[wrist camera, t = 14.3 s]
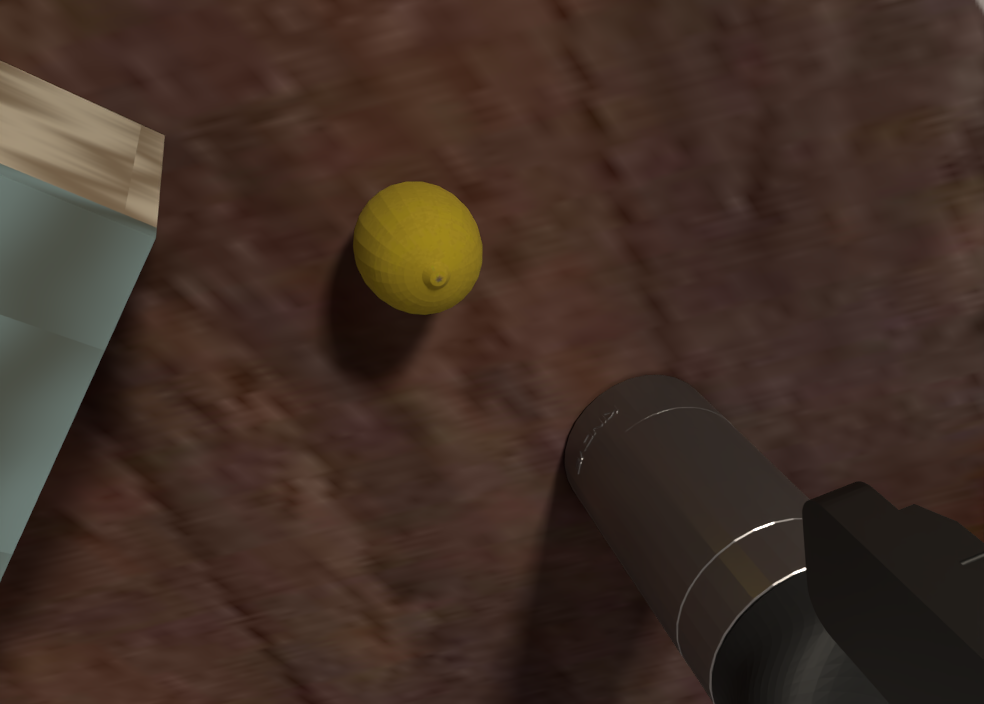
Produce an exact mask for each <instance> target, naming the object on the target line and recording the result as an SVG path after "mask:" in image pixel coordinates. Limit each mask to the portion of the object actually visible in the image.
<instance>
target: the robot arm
mask: <svg viewBox="0 0 984 704" xmlns="http://www.w3.org/2000/svg"><path fill="white" fill-rule="evenodd" d="M565 470H566V475H567V479H568V481H569V483H570V485H571V487H572V489H573V491H574V493H575V494H576V496H577V497H578V499H579V500H580V502H581V503H582V505H583V506H584V508H585V509H586V511H587V512H588V514H589V515H590V517H591V518H592V520H593V521H594V523H595V525H596V526H597V528H598V530H599V531H600V533H601V534H602V536H603V537H604V539H605V540H606V542H607V543H608V545H609V546H610V548H611V549H612V551H613V552H614V554H615V555H616V557H617V558H618V560H619V561H620V563H621V564H622V566H623V567H624V569H625V570H626V572H627V574H628V575H629V577H630V578H631V580H632V581H633V583H634V584H635V586H636V587H637V589H638V590H639V592H640V593H641V595H642V596H643V598H644V599H645V601H646V602H647V604H648V605H649V607H650V608H651V610H652V611H653V613H654V614H655V616H656V617H657V619H658V620H659V622H660V623H661V625H662V626H663V628H664V629H665V631H666V632H667V634H668V636H669V637H670V639H671V640H672V642H673V643H674V645H675V646H676V648H677V649H678V651H679V652H680V654H681V655H682V657H683V658H684V660H685V661H686V663H687V664H688V666H689V667H690V668H691V670H692V671H693V673H694V674H695V676H696V677H697V679H698V680H699V682H700V684H701V685H702V687H703V688H704V690H705V691H706V693H707V694H708V696H709V697H710V699H711V700H712V702H713V703H714V704H984V543H983V542H982V541H981V540H979V539H978V538H977V537H976V536H974V535H973V534H972V533H971V532H969V531H968V530H967V529H966V528H964V527H963V526H962V525H961V524H959V523H958V522H957V521H954V520H952V519H949V518H947V517H944V516H942V515H940V514H937V513H935V512H932V511H930V510H927V509H925V508H923V507H920V506H918V505H915V504H913V505H911V506H908V507H906V508H903V509H901V510H898V509H897V508H896V507H894V506H893V505H892V504H891V503H890V502H889V501H887V500H886V499H885V498H884V497H883V496H882V495H880V494H879V493H878V492H877V491H876V490H875V489H873V488H872V487H871V486H869V485H868V484H866V483H864V482H855V483H852V484H849V485H847V486H844V487H842V488H839V489H837V490H834V491H831V492H829V493H826V494H824V495H821V496H819V497H816V498H814V499H811V500H809V499H808V498H807V497H806V496H805V495H804V494H803V493H802V492H801V491H800V490H799V489H798V488H797V487H796V486H795V485H794V484H793V483H792V482H791V481H790V480H789V479H788V478H787V477H786V476H784V475H783V474H782V473H781V472H780V471H779V470H778V469H777V468H776V467H775V466H774V465H773V464H772V463H771V462H770V461H769V460H768V459H767V458H766V457H765V456H764V455H763V454H762V453H761V452H760V451H758V450H757V449H756V448H755V447H754V446H753V445H752V444H751V443H750V442H749V441H748V440H747V439H746V438H745V437H744V436H743V435H742V434H741V433H740V432H739V431H738V430H737V429H736V428H735V427H734V426H733V425H732V424H731V423H730V422H729V421H728V420H727V419H726V418H725V417H724V416H722V415H721V414H720V413H719V412H718V411H717V410H716V409H715V408H714V407H713V406H712V405H711V404H710V403H709V402H708V401H707V400H706V399H705V398H704V397H703V396H702V395H701V394H700V393H698V392H697V391H696V390H695V389H694V388H693V387H691V386H690V385H689V384H688V383H686V382H683V381H681V380H679V379H677V378H674V377H669V376H664V375H645V376H640V377H636V378H632V379H628V380H626V381H624V382H621V383H619V384H617V385H615V386H613V387H611V388H610V389H608V390H607V391H605V392H604V393H602V394H601V395H599V396H598V397H597V398H596V399H595V400H594V401H593V402H592V403H591V404H590V405H589V406H588V407H586V409H585V410H584V411H583V413H582V414H581V416H580V417H579V418H578V420H577V421H576V423H575V425H574V427H573V429H572V431H571V433H570V435H569V438H568V442H567V445H566V449H565Z"/></svg>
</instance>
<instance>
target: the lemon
mask: <svg viewBox="0 0 984 704" xmlns="http://www.w3.org/2000/svg"><path fill="white" fill-rule="evenodd" d="M353 250H354V255H355V261H356V265H357V268H358V270H359V272H360V274H361V276H362V278H363V280H364V282H365V283H366V285H367V286H368V287H369V288H370V289H371V290H372V291H373V292H374V293H375V295H376V296H377V297H378V298H380V299H381V300H383V301H384V302H386V303H387V304H389V305H390V306H392V307H393V308H395V309H398V310H401V311H404V312H407V313H410V314H422V315H427V314H433V313H439V312H442V311H444V310H447V309H449V308H452V307H453V306H454V305H456V304H457V303H459V302H460V301H461V300H463V299H464V297H465V296H466V295H467V294H468V293H469V292H470V291H471V290H472V288H473V286H474V284H475V282H476V280H477V279H478V276H479V273H480V269H481V265H482V242H481V238H480V234H479V230H478V226H477V224H476V222H475V220H474V219H473V217H472V215H471V213H470V212H469V210H468V209H467V207H466V206H465V205H464V204H463V203H462V202H461V201H460V200H459V199H458V198H457V197H456V196H454V195H453V194H451V193H450V192H448V191H446V190H444V189H443V188H441V187H439V186H437V185H433V184H429V183H425V182H403V183H399V184H395V185H391V186H389V187H387V188H386V189H384V190H382V191H380V192H378V193H377V194H376V195H375V196H374V197H373V198H372V199H371V200H370V201H369V202H368V203H367V204H366V206H365V207H364V209H363V210H362V212H361V213H360V215H359V218H358V221H357V223H356V226H355V229H354V241H353Z"/></svg>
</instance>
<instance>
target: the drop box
mask: <svg viewBox="0 0 984 704" xmlns="http://www.w3.org/2000/svg"><path fill="white" fill-rule="evenodd" d="M164 137H165V136H164V135H162V134H160V133H158V132H155V131H153V130H151V129H149V128H147V127H145V126H142V125H140V124H138V123H136V122H134V121H131V120H129V119H127V118H125V117H123V116H120V115H118V114H116V113H114V112H112V111H109V110H107V109H105V108H103V107H101V106H99V105H96V104H94V103H92V102H90V101H88V100H85V99H83V98H81V97H79V96H77V95H74V94H72V93H70V92H68V91H66V90H64V89H61V88H59V87H57V86H55V85H53V84H50V83H48V82H46V81H44V80H42V79H39V78H37V77H35V76H33V75H31V74H28V73H26V72H24V71H22V70H20V69H18V68H15V67H13V66H11V65H9V64H7V63H4V62H2V61H0V581H1V579H2V576H3V574H4V572H5V570H6V568H7V565H8V563H9V561H10V559H11V557H12V554H13V552H14V550H15V548H16V545H17V543H18V541H19V539H20V537H21V534H22V532H23V530H24V528H25V526H26V523H27V521H28V519H29V517H30V515H31V512H32V510H33V508H34V506H35V504H36V501H37V499H38V497H39V495H40V492H41V490H42V488H43V486H44V484H45V481H46V479H47V477H48V475H49V473H50V470H51V468H52V466H53V464H54V462H55V459H56V457H57V455H58V453H59V451H60V448H61V446H62V444H63V442H64V439H65V437H66V435H67V433H68V431H69V428H70V426H71V424H72V422H73V420H74V417H75V415H76V413H77V411H78V409H79V406H80V404H81V402H82V400H83V398H84V395H85V393H86V391H87V389H88V386H89V384H90V382H91V380H92V378H93V375H94V373H95V371H96V369H97V367H98V364H99V362H100V360H101V358H102V356H103V353H104V351H105V349H106V347H107V345H108V342H109V340H110V338H111V336H112V333H113V331H114V329H115V327H116V325H117V322H118V320H119V318H120V316H121V314H122V311H123V309H124V307H125V305H126V303H127V300H128V298H129V296H130V294H131V292H132V289H133V287H134V285H135V283H136V280H137V278H138V276H139V274H140V272H141V269H142V267H143V265H144V263H145V261H146V258H147V256H148V254H149V252H150V250H151V247H152V245H153V243H154V241H155V239H156V230H157V218H158V207H159V195H160V184H161V172H162V160H163V149H164Z"/></svg>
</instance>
